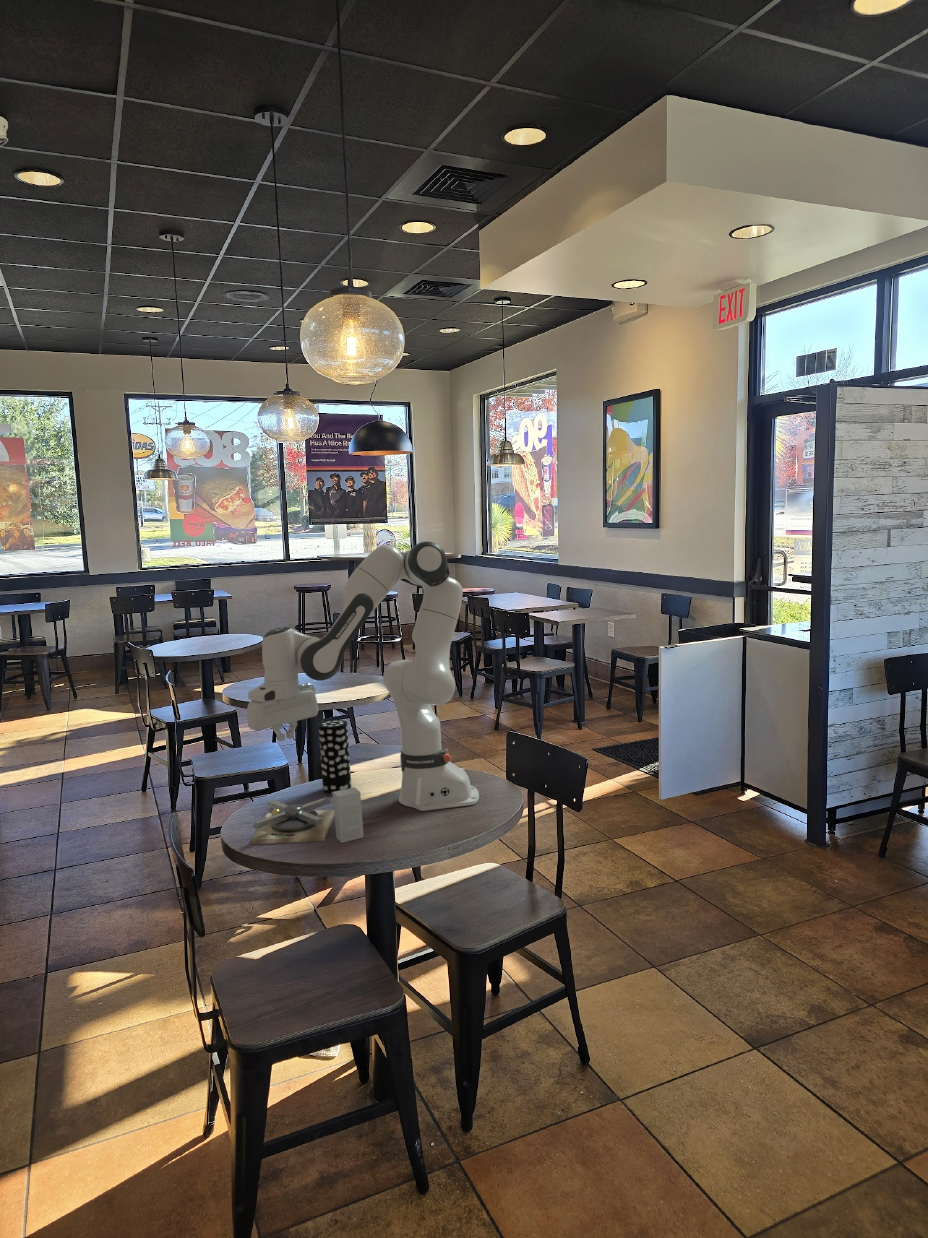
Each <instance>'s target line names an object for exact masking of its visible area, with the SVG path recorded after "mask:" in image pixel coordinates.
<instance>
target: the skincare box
mask: <svg viewBox="0 0 928 1238" xmlns="http://www.w3.org/2000/svg"><path fill="white" fill-rule="evenodd" d="M361 797H362V796H361V791H360V790H358V789H357V788H356V787H354V786H353V787H351V788H350V789H345V790H340V791H335V792H333V794H332V801H333V802H332V803H333V810H334V824H335V825H334V826H335V837H336V839H337V840H338V841H339V842H340V843H348V842H351V841H355V840H358V839H363V838H364V837H365V836H364V825H363V824H364V823H363V809H362V799H361Z"/></svg>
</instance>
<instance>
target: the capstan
mask: <svg viewBox="0 0 928 1238" xmlns="http://www.w3.org/2000/svg"><path fill="white" fill-rule="evenodd" d="M330 804H331V797H329V796H328V797H327V796H326V797H323V798H320V799H317V800H314V801H311V802H308V803H305V804H303V805H302V804H299V803H297V804H290V805H288V804H285V803H283V802H280V801H278V800H274V799H270V800H267V807H268V808H271V809H273V810H271V812H270V813H271V815H272V816H270V817H267V818H265V817H264V818H262V819H260V820H255V821H254V827H255V828H256V829H257V830H258V829H259V828H262V827H265V826H268V825H271V828H272V829H274V830H276V831H280V832H296V831H301V830H305V829H308V828H311V827H313V826H314V825H317V826H318V825H320V824H322V818H320V817H318V813H317V812H316V811H317V810H315V809H319V808H322V807H323V806H326V805H330Z"/></svg>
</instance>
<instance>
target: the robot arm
mask: <svg viewBox="0 0 928 1238" xmlns="http://www.w3.org/2000/svg"><path fill="white" fill-rule="evenodd" d="M448 563H449V562H448V559H447V554H446V552H445V550H444V549H443V547H441V546H440V544H438V543H436V542H433V541H421V542H418V543H416V544H415V545H413V546H412V547H411V548H410V549H409V550H408V551H401V550H399V549H398V548H396V547H395V546H393V545H390V544H381V545H379V546H377V547H376V548H375V549H374V550H372V551H371V552H370V553H369V554H368V555H367V556H365V558H364V559H362V561H361V562H360V564H359V565H357V567H355V568H356V569H354V571H352V573H351V574H350V576H349V577H348V580H347V581H346V583H345V585H344V587H343V595H344V607H343V609H342V611H341V614H339V616H338V618H337V619H336V620H335V621H334V623H333V625H332V626H331V627H330V628H329V630H328V631H327V633H326V634H325V635H324V636H323V637H321V638H320V637H317V636H312V635H308V634H304V633H302V632H299V631H297V630H294V629H293V628H291V627H290V626H283V627H277V628H273V629H271V630H269V631H267V632H265V634H264V635H263V638H262V642H261V643H262V648H261V649H262V650H261V653H262V654H261V655H262V665H263V667H264V675H263V681H264V682H262V683H261V684H259V685H258V686H257V687H255V688H254V689H252V690H250V691H249V692H248V693H247V699H248V700H250V701H249V702H248V704H247V707H246V712H247V714H246V716H247V717H246V718H247V719H246V720H247V726H248V728H250V730H253V731H256V732H259V731H263V730H266V729H270V728H272V731H273V732H274V733H275V735H276V740H277V742H283V741H286V739H289V740H290V739H294V738H295V731H296V729H297V726H298V721H301V720H305V719H310V718H313V717H316V716H317V715H318V713H319V706H318V701H317V696H316V688H315V687H316V686H314V685H313V684H312V683H310V682H309V683H308V682H307V683H304V684H299V674H300V673H304V674H305V675H306V676H307V678H310V679H312V680H313V681H318V682H319V681H321V682H322V681H326V680H329V679H331V678H333V677H334V676H335V675H336V674H337V673H338V671H339V669H340V667H341V664H342V661H343V658H344V655H345V652H346V650H347V648H348V647H349V646H350V644H351V642H352V641H353V639H354V638H355V637H356V636H357V634H358V632H359V631H360V630H361V628H362V627H363V625H364V624H365V623H366V621H367V620H368V619H369V617H370V616H371V614H372V613H373V612H374V611H375V609H376V608H377V607H378V606H379V604H380V603H381V602H382V601H383V600H384V599H385V598H386V597H387V595H388V594H389V593H390V592H391V590H392V589H393V587H394V586H396V584H397V583H398V582H399V581H402V582H405V583H407V584H409V585H411V586H415V587H421V588H422V590H423V597H422V601H421V605H420V607H419V610H418V613H417V617H416V620H415V623H414V627H413V630H412V635H411V638H412V639H411V640H412V642H413V643H414V646H415V659H414V660H411V659H402V660H394V661H393V662H390V663H389V664H388V665H387V666H386V668H385V670H384V672H383V675H382V676H383V677H382V681H383V686H384V687H385V688H386V690H387V691H388V693H389V694H390V697H391V699H392V702H393V704H394V708H395V710H396V714H397V718H398V722H399V727H400V728H399V729H400V743H401V750H400V755H399V756H400V757H399V758H400V769H401V773H402V776H401V787H400V793H399V797H398V802H399V803H400V804H401V805H403V806H405V807H408V808H414V809H416V810H418V811H422V812H426V811H432V810H433V811H434V810H440V809H441V810H442V809H450V808H457V807H458V808H459V807H464V806H465V807H466V806H473V805H475V804H477V802H479V800H480V793H479V790H478V788H476V787H475V786H474V785H471V781H470V778H469V777H470V776H468V773H467V772H466V771H465V770H464V769H463V768H460V767H459V766H458V765H456V764H454V763H453V762H451V758H452V757H451V754H450V752H449V751H448V748H443V747H442V736H441V735H442V733H441V722H440V719H439V717H438V716H437V715H436V713H435V712H434V709H433V708H432V706H440V705H444V704H446V703H448V702H449V701H450V700H451V699H452V698H453V696H454V694H455V689H456V681H455V677H454V676H453V674H452V671H451V666H450V655H451V654H450V651H451V645H452V642H453V638H454V634H455V631H456V627H457V624H458V620H459V616H460V613H461V609H462V608H461V607H462V603H463V602H462V601H463V594H464V592H463V591H464V590H463V587H462V585H461V583H460V582H459V581H458V580H457V579H454V578H453V577H450V569H449V564H448ZM285 724H288V725H289V727H288V731H285V733H283V732H282V730H281V729H282V725H285Z"/></svg>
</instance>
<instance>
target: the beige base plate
mask: <svg viewBox="0 0 928 1238" xmlns="http://www.w3.org/2000/svg"><path fill="white" fill-rule="evenodd" d="M315 811H316V812H317V813H318V817H320V818H322V824H320V825H318V826H317V825H314V826H313V827H311V828H308V829H305V830H301V831H296V832H280V831H276V830H274V829H272V828H271V825H268V826H265V827H262V828H259V829H258V828H257V830H256V832H255V833H254V835H253V836H252V838H251V845H266V844H283V843H284V844H286V843H305V842H308V843H309V842H321V841H324V842H325V841H326V838H327V836H328V833H329V830H330V828H331V825H332V823H333V820H334V819H335V816H334V809H325V810H323V809H322V810H321V809H319V810H315ZM271 813H272V812H268V813H266V815H265V817H264V818H267V817H270V816H272V815H271Z"/></svg>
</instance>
